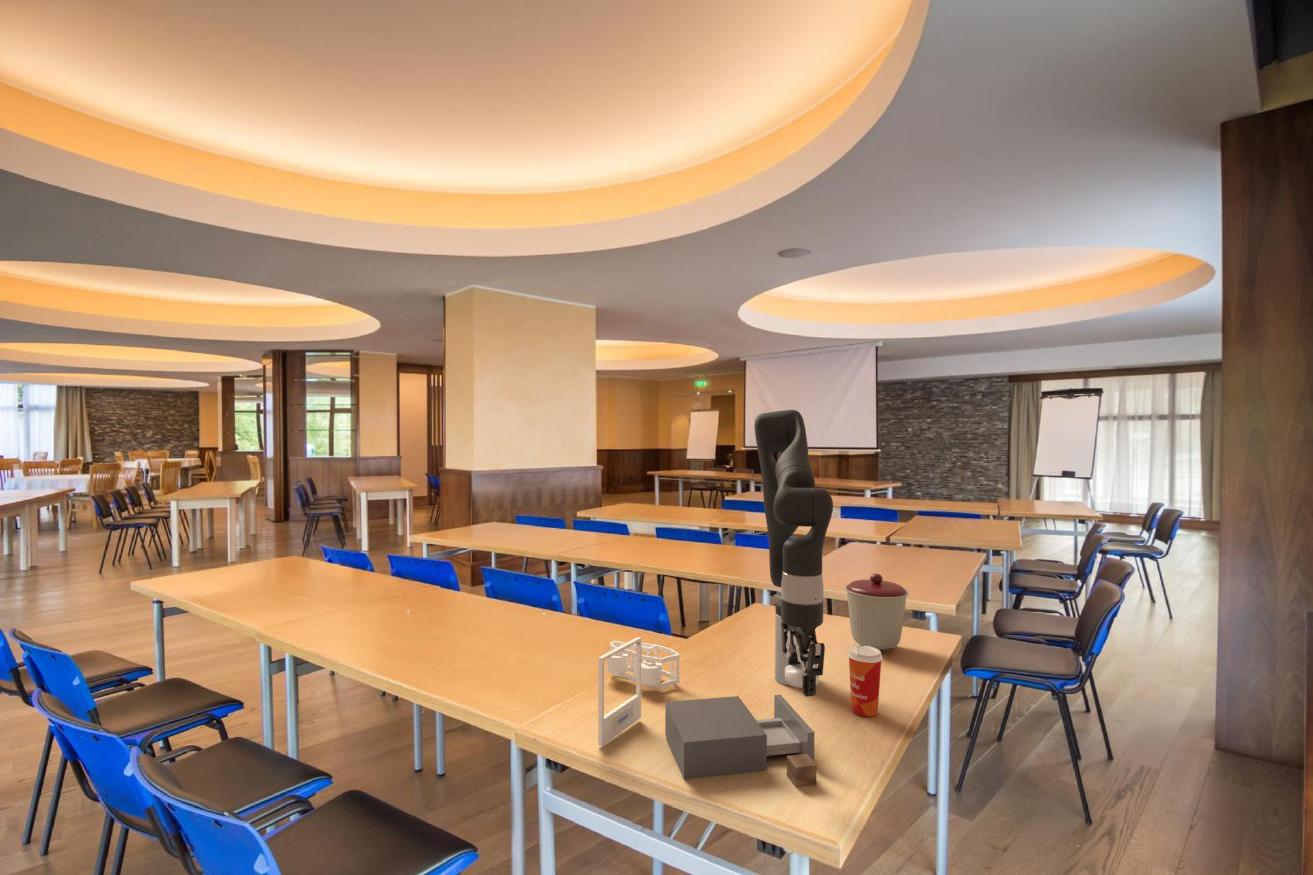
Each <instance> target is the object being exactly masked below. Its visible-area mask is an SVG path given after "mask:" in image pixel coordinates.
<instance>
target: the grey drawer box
mask: <svg viewBox="0 0 1313 875" xmlns="http://www.w3.org/2000/svg"><path fill="white" fill-rule="evenodd" d="M664 703H665V704H664V705H665V712H664V713H665V714H664V715H665V716H664V718H665V719H664V720H665V726H664V728H665V729H664V730H665V732H664V733H665V734H664V735H665V738H666V740H667V742H668V745H669V747H670V749H671V752H672V754H673V757H674V759H675V762H676V764H677V766H678V769H679V772H680V774H681V777H682V779H683V780H684V781H685V780H693V779H701V778H703V779H705V778H710V777H721V776H729V775H738V774H748V773H756V772H765V771H766V772H767V770H768V768H767V767H768V766H767V760H768V758H767V757H768V756H767V734H766V733H765V732H764V730H763V729H762V727H761V726H760V725H759V723H758V722H757V721H756V720H757V718H755V717H754V715H753V714H752V713H751V711H750V710H749V709H748V708H747V705H746V704H745V703H744V702H743V700H742V699H741V698H740V697H739V695H735V696H725V697H723V696H722V697H711V698H710V697H709V698H700V699H687V700H673V701H665V702H664Z"/></svg>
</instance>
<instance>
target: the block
mask: <svg viewBox="0 0 1313 875" xmlns="http://www.w3.org/2000/svg"><path fill="white" fill-rule="evenodd" d="M817 768H818V767H817V764H816V763H815V761H814V762H813V760H812V759H811V758H810V757H809V755H808V754H801V755H799V754H794V755H793V754H792V755H787V756H786V777H787V778H788V779H789V781H790V782H791V784H792V785H793V786H794V787H795V788H801V787H809V786H816V785H817Z"/></svg>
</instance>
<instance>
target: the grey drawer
mask: <svg viewBox="0 0 1313 875" xmlns="http://www.w3.org/2000/svg"><path fill="white" fill-rule="evenodd" d="M773 698H774V700H773V701H774V703H773V706H774V708H773V710H774V715H773V716H774V717H773V718H766V719H756V721H757V722H758V723H759V725H760V726H761V727H762V729H763V730H764V732H765V733H766V734H767V757H768V756H779V755H788V754H789V755H790V754H797V755H801V754H808V755H809V757H810V758H811V759H812V760H813V762H814V763H815V731H814V730H813V729H812V728H811V727H810V726H809V724H807V722H806V721H805V720H804V718H802V716H800V714H799V713H798V712H797V711H796V710H795V709H794V708H793V707H792V706H791V704H790V703H789V702H788V701H787V700H786V699H785V698H784V696H782V694H774V697H773Z"/></svg>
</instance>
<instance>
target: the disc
mask: <svg viewBox="0 0 1313 875" xmlns="http://www.w3.org/2000/svg"><path fill="white" fill-rule="evenodd" d="M819 677H820V676H816V687H817V686H818V685H819ZM785 681H786V683H788V684H789V685H791V686H790V687H795V688H800V689H803V671H802V665H801V664H791V665H788V666H786V667H785Z"/></svg>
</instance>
